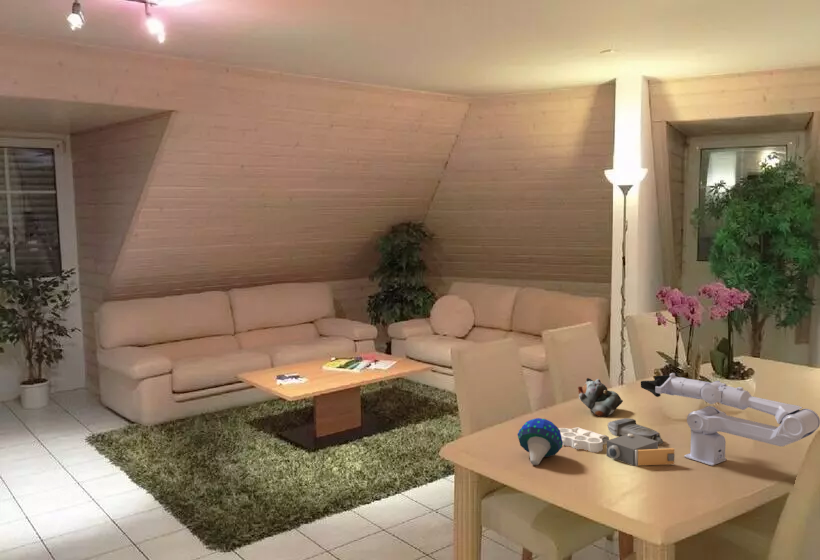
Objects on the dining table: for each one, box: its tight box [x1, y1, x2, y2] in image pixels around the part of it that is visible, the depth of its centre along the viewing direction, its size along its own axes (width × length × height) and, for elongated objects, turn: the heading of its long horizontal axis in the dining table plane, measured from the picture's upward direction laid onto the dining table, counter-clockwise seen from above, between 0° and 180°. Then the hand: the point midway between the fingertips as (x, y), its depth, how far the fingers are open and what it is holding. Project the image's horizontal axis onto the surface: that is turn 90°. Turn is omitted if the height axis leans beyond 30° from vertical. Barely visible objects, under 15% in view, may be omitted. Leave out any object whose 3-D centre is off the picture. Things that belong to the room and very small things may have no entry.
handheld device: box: [607, 417, 664, 445], centre depth 232 cm, size 10×20×5 cm, turn 32°
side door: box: [634, 447, 675, 467], centre depth 208 cm, size 2×12×5 cm, turn 95°
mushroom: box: [517, 417, 564, 466], centre depth 214 cm, size 14×14×15 cm
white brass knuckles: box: [558, 426, 610, 453], centre depth 228 cm, size 3×18×15 cm
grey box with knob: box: [606, 433, 659, 467], centre depth 215 cm, size 10×13×6 cm
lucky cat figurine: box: [577, 377, 624, 418], centre depth 262 cm, size 15×12×14 cm
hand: (648, 381), depth 227 cm, fingers open, 7 cm apart
